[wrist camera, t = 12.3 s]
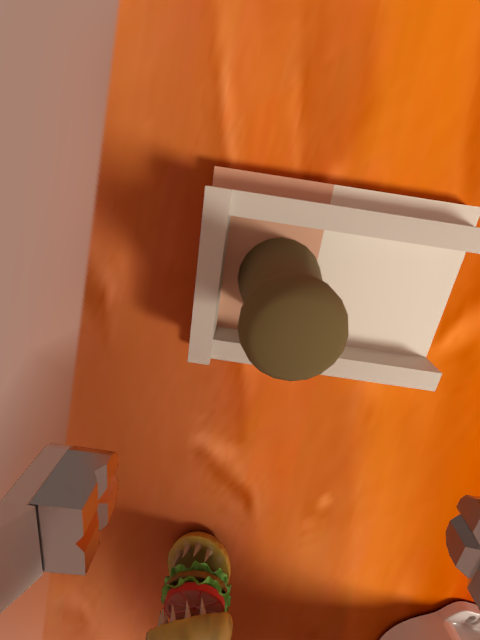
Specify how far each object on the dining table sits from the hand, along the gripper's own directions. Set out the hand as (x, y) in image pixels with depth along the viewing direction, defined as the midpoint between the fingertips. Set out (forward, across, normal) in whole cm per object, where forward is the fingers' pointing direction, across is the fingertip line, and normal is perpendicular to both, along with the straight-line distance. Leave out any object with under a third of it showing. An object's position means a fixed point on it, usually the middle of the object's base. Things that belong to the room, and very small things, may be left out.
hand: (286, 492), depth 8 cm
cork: (+19, -1, -1) cm, 19 cm away
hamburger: (+20, +2, +30) cm, 37 cm away
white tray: (+20, -4, -1) cm, 20 cm away
